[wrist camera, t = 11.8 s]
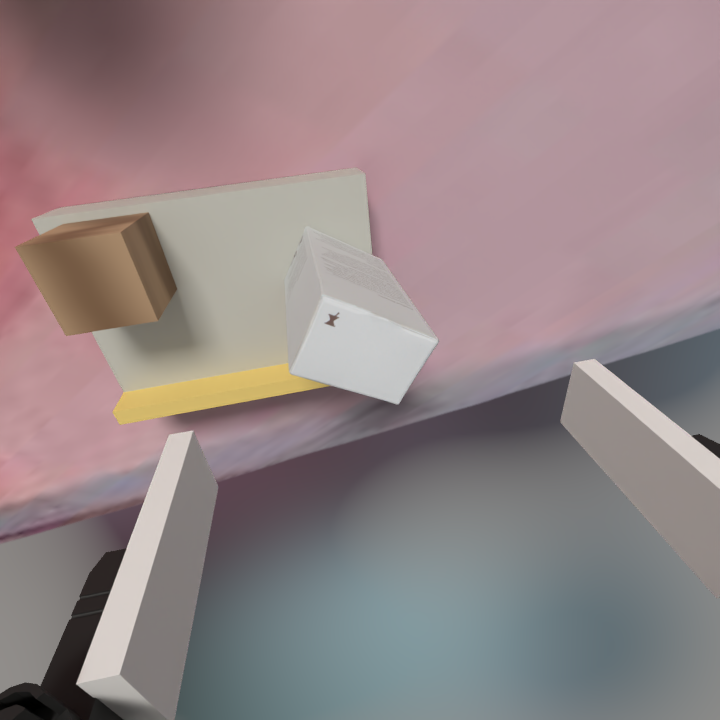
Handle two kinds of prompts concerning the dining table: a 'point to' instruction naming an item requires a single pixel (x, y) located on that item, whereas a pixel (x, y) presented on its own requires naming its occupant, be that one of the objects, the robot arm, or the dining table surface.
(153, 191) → the dining table surface
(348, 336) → the skincare box
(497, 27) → the dining table surface
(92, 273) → the tan wooden cube
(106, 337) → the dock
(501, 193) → the dining table surface
